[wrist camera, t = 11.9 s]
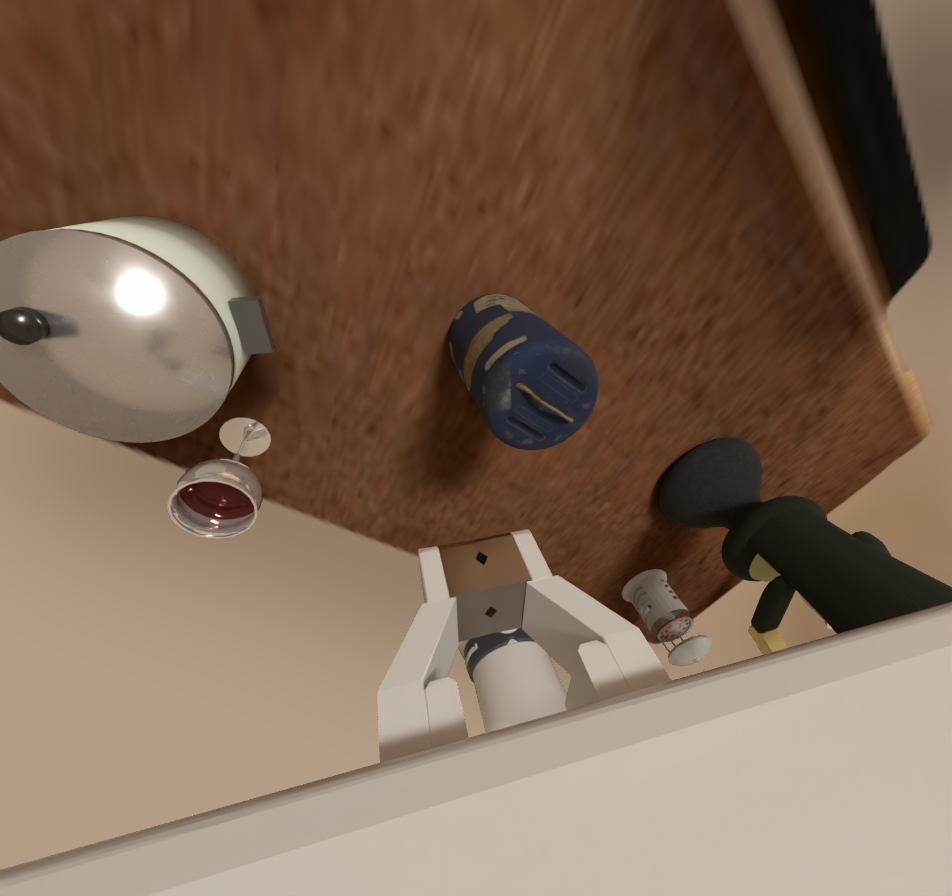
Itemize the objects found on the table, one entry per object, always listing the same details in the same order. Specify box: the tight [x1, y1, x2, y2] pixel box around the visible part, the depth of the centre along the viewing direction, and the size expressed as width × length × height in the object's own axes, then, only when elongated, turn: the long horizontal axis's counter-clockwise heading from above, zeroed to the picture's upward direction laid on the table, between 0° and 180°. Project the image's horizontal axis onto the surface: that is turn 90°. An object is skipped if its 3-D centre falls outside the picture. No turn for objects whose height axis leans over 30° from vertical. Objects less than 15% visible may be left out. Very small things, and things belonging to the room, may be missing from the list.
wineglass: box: [167, 418, 271, 539], centre depth 39 cm, size 7×7×12 cm
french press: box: [622, 569, 712, 671], centre depth 71 cm, size 10×12×25 cm
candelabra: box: [659, 438, 952, 655], centre depth 47 cm, size 19×22×45 cm
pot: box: [49, 216, 275, 394], centre depth 32 cm, size 14×18×10 cm
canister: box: [449, 294, 598, 450], centre depth 37 cm, size 10×10×18 cm
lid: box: [0, 229, 235, 443], centre depth 27 cm, size 14×14×2 cm
